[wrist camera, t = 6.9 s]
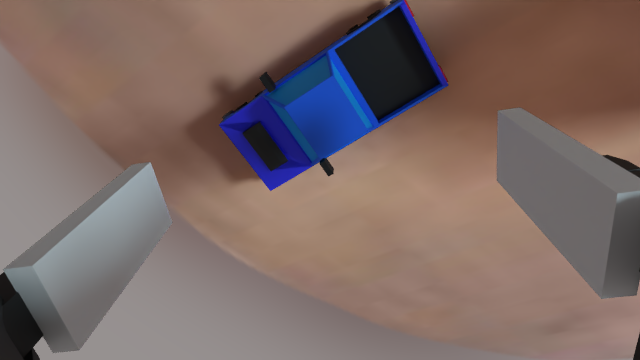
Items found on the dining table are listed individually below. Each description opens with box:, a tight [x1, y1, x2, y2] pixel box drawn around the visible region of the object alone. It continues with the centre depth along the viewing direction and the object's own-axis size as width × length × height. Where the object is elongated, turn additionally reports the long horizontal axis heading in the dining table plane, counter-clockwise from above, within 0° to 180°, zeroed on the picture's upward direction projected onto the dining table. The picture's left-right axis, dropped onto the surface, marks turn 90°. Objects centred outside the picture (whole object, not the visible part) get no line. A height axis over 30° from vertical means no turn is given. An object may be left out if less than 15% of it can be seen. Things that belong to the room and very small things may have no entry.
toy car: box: [219, 0, 448, 191], centre depth 22 cm, size 7×12×5 cm, turn 123°
